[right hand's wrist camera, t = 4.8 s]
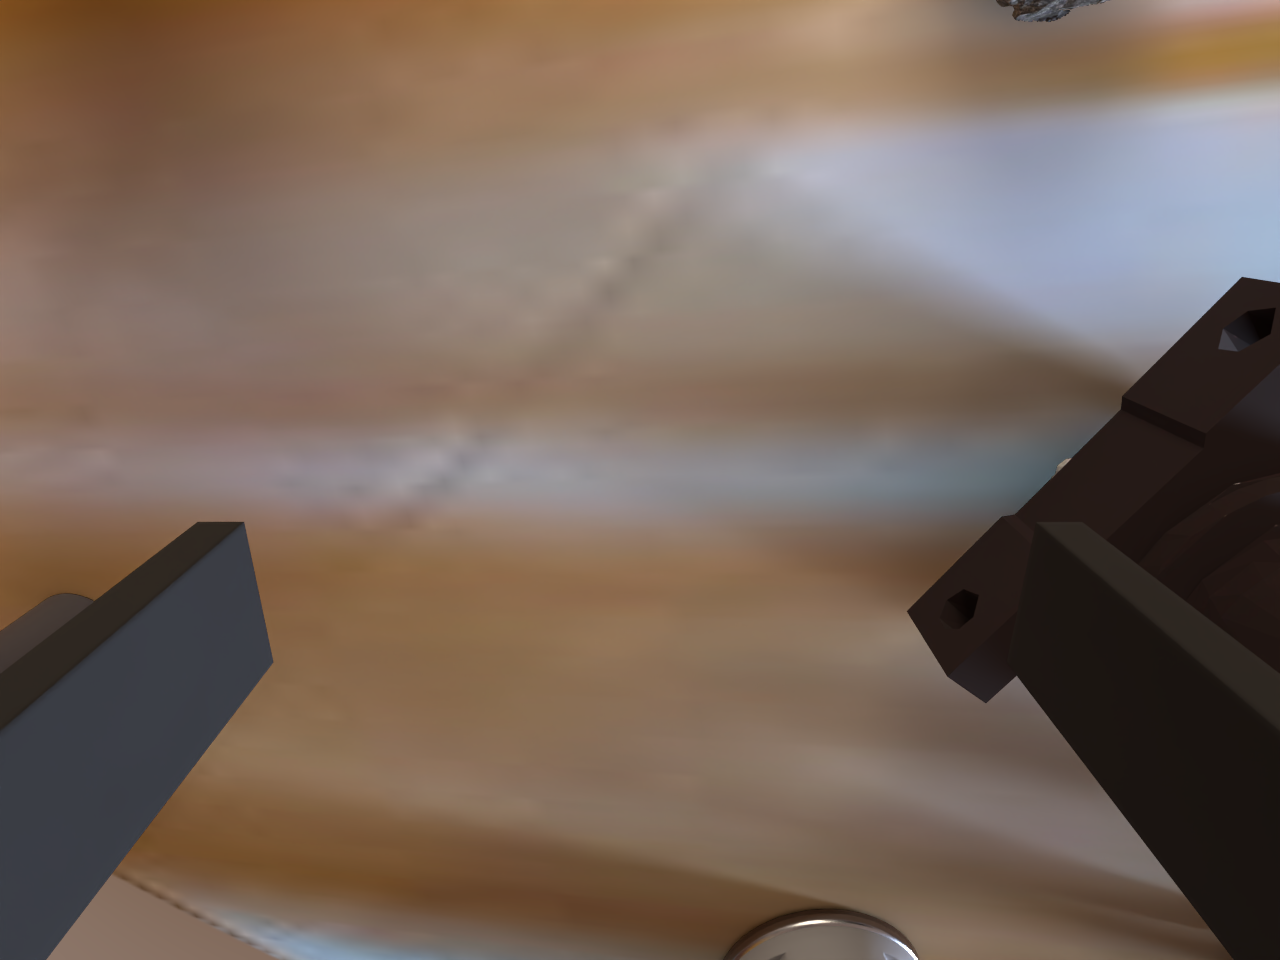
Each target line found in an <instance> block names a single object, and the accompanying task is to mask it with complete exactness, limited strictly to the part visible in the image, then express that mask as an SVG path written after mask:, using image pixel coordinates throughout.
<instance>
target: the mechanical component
mask: <svg viewBox="0 0 1280 960" xmlns="http://www.w3.org/2000/svg"><path fill="white" fill-rule="evenodd" d="M1036 522H1083V523H1084V524H1086V525H1087V526H1088V527H1089V528H1091V529H1092V530H1093V531H1095V532H1096V533H1097V534H1099V535H1100V536H1101V537H1102V538H1104V539H1105V540H1106V541H1108V542H1109V543H1110V544H1112V545H1113V546H1114V547H1115V548H1117V549H1118V550H1119V551H1121V552H1122V553H1123V554H1125V555H1126V556H1127V557H1128V558H1130V559H1131V560H1132V561H1134V562H1135V563H1136V564H1138V565H1139V566H1140V567H1142V568H1143V569H1144V570H1145V571H1147V572H1148V573H1149V574H1151V575H1152V576H1153V577H1155V578H1156V579H1157V580H1158V581H1160V582H1161V583H1162V584H1164V585H1165V586H1166V587H1168V588H1169V589H1170V590H1171V591H1173V592H1174V593H1175V594H1177V595H1178V596H1179V597H1181V598H1182V599H1183V600H1184V601H1186V602H1187V603H1188V604H1190V605H1191V606H1192V607H1194V608H1195V609H1196V610H1198V611H1199V612H1200V613H1201V614H1203V615H1204V616H1205V617H1207V618H1208V619H1209V620H1211V621H1212V622H1213V623H1214V624H1216V625H1217V626H1218V627H1220V628H1221V629H1222V630H1224V631H1225V632H1226V633H1227V634H1229V635H1230V636H1231V637H1233V638H1234V639H1235V640H1237V641H1238V642H1239V643H1240V644H1242V645H1243V646H1244V647H1246V648H1247V649H1248V650H1250V651H1251V652H1252V653H1254V654H1255V655H1256V656H1257V657H1259V658H1260V659H1261V660H1263V661H1264V662H1265V663H1267V664H1268V665H1269V666H1270V667H1272V668H1273V669H1274V670H1276V671H1277V672H1278V673H1280V283H1277V282H1271V281H1264V280H1258V279H1252V278H1245V277H1241V278H1240V279H1239V280H1238V281H1237V282H1236V283H1235V284H1234V285H1233V286H1232V287H1231V288H1230V289H1229V290H1228V291H1227V292H1226V293H1225V294H1224V295H1223V296H1222V297H1221V298H1220V299H1219V300H1218V301H1217V302H1216V303H1215V304H1214V305H1213V306H1212V307H1211V308H1210V309H1209V310H1208V311H1207V312H1206V313H1205V314H1204V315H1203V316H1202V317H1201V318H1200V319H1199V320H1198V321H1197V322H1196V323H1195V324H1194V325H1193V326H1192V327H1191V328H1190V329H1189V330H1188V331H1187V332H1186V333H1185V334H1184V335H1183V336H1182V337H1181V338H1180V339H1179V340H1178V341H1177V342H1176V343H1175V344H1174V345H1173V346H1172V347H1171V348H1170V349H1169V350H1168V351H1167V352H1166V353H1165V354H1164V355H1163V356H1162V357H1161V358H1160V359H1159V360H1158V361H1157V362H1156V363H1155V364H1154V365H1153V366H1152V367H1151V368H1150V369H1149V370H1148V371H1147V372H1146V373H1145V374H1144V375H1143V376H1142V377H1141V378H1140V379H1139V380H1138V381H1137V382H1136V383H1135V384H1134V385H1133V386H1132V387H1131V388H1130V389H1129V390H1128V391H1127V392H1126V393H1125V394H1124V395H1123V396H1122V404H1121V410H1120V411H1119V412H1118V413H1117V414H1116V415H1115V416H1114V417H1113V418H1112V419H1111V420H1110V421H1109V422H1108V423H1107V424H1106V425H1105V426H1104V427H1103V428H1102V429H1101V430H1100V431H1099V432H1098V433H1097V434H1096V435H1095V436H1094V437H1093V438H1092V439H1091V440H1090V441H1089V442H1088V443H1087V444H1086V445H1085V446H1084V447H1083V448H1082V449H1081V450H1080V451H1079V452H1078V453H1077V454H1076V455H1075V456H1074V457H1073V458H1070V459H1065V460H1064V461H1063V462H1061V463H1060V464H1059V465H1058V466H1057V469H1056V473H1055V475H1054V476H1052V478H1051V479H1050V480H1049V481H1048V482H1047V483H1046V484H1045V485H1044V486H1043V487H1042V488H1041V489H1040V490H1039V491H1038V492H1037V493H1036V494H1035V495H1034V496H1033V497H1032V498H1031V499H1030V500H1029V501H1028V502H1027V503H1026V504H1025V505H1024V506H1023V507H1022V508H1021V509H1020V510H1019V511H1018V512H1017V513H1016V514H1015V515H1010V516H1002V517H1001V518H1000V519H999V520H998V521H997V522H996V523H995V524H994V525H993V526H992V527H991V528H990V529H989V530H988V531H987V532H986V533H985V534H984V535H983V536H982V537H981V538H980V539H979V540H978V541H977V542H976V543H975V544H974V545H973V546H972V547H971V548H970V549H969V550H968V551H967V552H966V553H965V554H964V555H963V556H962V557H961V558H960V559H959V560H958V561H957V562H956V563H955V564H954V565H953V566H952V567H951V568H950V569H949V570H948V571H947V572H946V573H945V574H944V575H943V576H942V577H941V578H940V579H939V580H938V581H937V582H936V583H935V584H934V585H933V586H932V587H931V588H930V589H929V590H928V591H927V592H926V593H925V594H924V595H923V596H922V597H921V598H920V599H919V600H918V601H917V602H916V603H915V604H914V605H913V606H912V607H911V608H910V609H909V610H908V611H907V612H908V614H909V616H910V617H911V619H912V620H913V622H914V624H915V625H916V627H917V628H918V630H919V632H920V633H921V635H922V636H923V638H924V640H925V641H926V643H927V644H928V646H929V648H930V649H931V651H932V653H933V654H934V656H935V657H936V659H937V661H938V662H939V664H940V665H941V667H942V669H943V670H944V672H945V673H946V675H947V677H949V678H950V679H952V680H953V681H955V682H956V683H957V684H959V685H960V686H962V687H963V688H965V689H966V690H967V691H969V692H970V693H972V694H973V695H975V696H976V697H978V698H979V699H980V700H982V701H983V702H985V703H987V702H988V701H989V700H990V699H991V698H992V697H993V696H995V695H996V694H997V693H998V692H999V691H1000V690H1001V689H1002V688H1003V687H1005V686H1006V685H1007V684H1008V683H1009V682H1010V681H1011V680H1012V679H1013V678H1014V677H1016V676H1017V675H1016V674H1015V673H1014V671H1013V670H1012V669H1011V667H1010V666H1009V665H1008V663H1007V658H1008V653H1009V648H1010V644H1011V639H1012V634H1013V629H1014V625H1015V620H1016V615H1017V610H1018V606H1019V601H1020V596H1021V591H1022V586H1023V582H1024V577H1025V572H1026V567H1027V563H1028V558H1029V553H1030V548H1031V543H1032V539H1033V534H1034V529H1035V524H1036Z"/></svg>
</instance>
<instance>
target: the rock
mask: <svg viewBox="0 0 1280 960" xmlns="http://www.w3.org/2000/svg"><path fill="white" fill-rule="evenodd" d="M996 1H997V3H998V4H999V5H1000V6H1002V7H1006V6H1013V7H1014V9H1015V11H1014V12H1013V15H1012V16H1013V17H1014V19H1015V20H1018V21H1020V20H1022V21H1023V20H1024V21H1029V22H1032V21H1033V20H1036V21H1037V22H1038V21H1040V22H1041V21H1046V22H1047V21H1048V22H1051V21H1055V20H1058V18H1059V19H1061V17H1063V16H1066V14H1068V13H1069V12H1071V11H1070V10H1065V11H1063V10H1059V9H1073V8H1076V7H1078V6H1085V5H1087V6H1089V4H1098V3H1104V2H1105V1H1108V0H996ZM1057 10H1058V11H1057Z"/></svg>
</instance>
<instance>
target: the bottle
mask: <svg viewBox="0 0 1280 960" xmlns="http://www.w3.org/2000/svg"><path fill="white" fill-rule="evenodd" d="M93 602H94V601H92V600H90V599H88V598H86V597H83V596H80V595H75V594H58V595H54V596H51V597H49V598H47V599H45V600H44V601H43V602H41V603H40V604H38V605H37V606H35V607H34V608H33V609H31V610H30V611H28V612H27V613H25V614H24V615H23V616H21V617H20V618H18V619H17V620H16V621H14V622H13V623H11V624H10V625H8V626H7V627H6V628H4V629H3V630H1V631H0V673H2V672H3V671H4V670H6V669H7V668H8V667H10V666H11V665H12V664H13V663H15V662H16V661H17V660H19V659H20V658H21V657H23V656H24V655H25V654H26V653H28V652H29V651H30V650H32V649H33V648H34V647H36V646H37V645H38V644H40V643H41V642H42V641H43V640H45V639H46V638H47V637H49V636H50V635H51V634H53V633H54V632H55V631H56V630H58V629H59V628H60V627H62V626H63V625H64V624H66V623H67V622H68V621H69V620H71V619H72V618H73V617H75V616H76V615H77V614H79V613H80V612H81V611H82V610H84V609H85V608H86V607H88V606H89V605H90V604H92V603H93Z"/></svg>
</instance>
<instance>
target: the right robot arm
mask: <svg viewBox="0 0 1280 960" xmlns="http://www.w3.org/2000/svg"><path fill="white" fill-rule="evenodd" d="M272 663H273V658H272V653H271V648H270V644H269V639H268V634H267V629H266V625H265V620H264V615H263V610H262V606H261V601H260V596H259V591H258V586H257V582H256V577H255V572H254V567H253V563H252V558H251V553H250V548H249V543H248V539H247V534H246V529H245V524H244V522H197V523H196V524H194V525H193V526H192V527H191V528H189V529H188V530H187V531H185V532H184V533H183V534H181V535H180V536H179V537H178V538H176V539H175V540H174V541H172V542H171V543H170V544H168V545H167V546H166V547H165V548H163V549H162V550H161V551H159V552H158V553H157V554H155V555H154V556H153V557H152V558H150V559H149V560H148V561H146V562H145V563H144V564H142V565H141V566H140V567H138V568H137V569H136V570H135V571H133V572H132V573H131V574H129V575H128V576H127V577H125V578H124V579H123V580H122V581H120V582H119V583H118V584H116V585H115V586H114V587H112V588H111V589H110V590H109V591H107V592H106V593H105V594H103V595H102V596H101V597H99V598H98V599H97V600H96V601H94V602H93V603H92V604H90V605H89V606H88V607H86V608H85V609H84V610H82V611H81V612H80V613H79V614H77V615H76V616H75V617H73V618H72V619H71V620H69V621H68V622H67V623H66V624H64V625H63V626H62V627H60V628H59V629H58V630H56V631H55V632H54V633H53V634H51V635H50V636H49V637H47V638H46V639H45V640H43V641H42V642H41V643H40V644H38V645H37V646H36V647H34V648H33V649H32V650H30V651H29V652H28V653H26V654H25V655H24V656H23V657H21V658H20V659H19V660H17V661H16V662H15V663H13V664H12V665H11V666H10V667H8V668H7V669H6V670H4V671H3V672H2V673H0V960H46V959H47V958H48V956H49V955H50V954H51V953H52V951H53V950H54V949H55V947H56V946H57V945H58V943H59V942H60V941H61V939H62V938H63V937H64V936H65V934H66V933H67V932H68V930H69V929H70V928H71V926H72V925H73V924H74V923H75V921H76V920H77V919H78V917H79V916H80V915H81V913H82V912H83V911H84V909H85V908H86V907H87V906H88V904H89V903H90V902H91V900H92V899H93V898H94V896H95V895H96V894H97V892H98V891H99V890H100V888H101V887H102V886H103V885H104V883H105V882H106V881H107V879H108V878H109V877H110V875H111V874H112V873H113V871H114V870H115V869H116V868H117V866H118V865H119V864H120V862H121V861H122V860H123V858H124V857H125V856H126V854H127V853H128V852H129V851H130V849H131V848H132V847H133V845H134V844H135V843H136V841H137V840H138V839H139V837H140V836H141V835H142V834H143V832H144V831H145V830H146V828H147V827H148V826H149V824H150V823H151V822H152V820H153V819H154V818H155V817H156V815H157V814H158V813H159V811H160V810H161V809H162V807H163V806H164V805H165V803H166V802H167V801H168V799H169V798H170V797H171V796H172V794H173V793H174V792H175V790H176V789H177V788H178V786H179V785H180V784H181V782H182V781H183V780H184V779H185V777H186V776H187V775H188V773H189V772H190V771H191V769H192V768H193V767H194V765H195V764H196V763H197V762H198V760H199V759H200V758H201V756H202V755H203V754H204V752H205V751H206V750H207V748H208V747H209V746H210V745H211V743H212V742H213V741H214V739H215V738H216V737H217V735H218V734H219V733H220V731H221V730H222V729H223V728H224V726H225V725H226V724H227V722H228V721H229V720H230V718H231V717H232V716H233V714H234V713H235V712H236V710H237V709H238V708H239V707H240V705H241V704H242V703H243V701H244V700H245V699H246V697H247V696H248V695H249V693H250V692H251V691H252V690H253V688H254V687H255V686H256V684H257V683H258V682H259V680H260V679H261V678H262V676H263V675H264V674H265V673H266V671H267V670H268V669H269V667H270V666H271V665H272ZM1007 663H1008V665H1009V666H1010V667H1011V669H1012V670H1013V671H1014V673H1015V674H1016V675H1017V676H1018V678H1019V679H1020V680H1021V682H1022V683H1023V684H1024V686H1025V687H1026V688H1027V690H1028V691H1029V692H1030V693H1031V695H1032V696H1033V697H1034V699H1035V700H1036V701H1037V703H1038V704H1039V705H1040V707H1041V708H1042V709H1043V710H1044V712H1045V713H1046V714H1047V716H1048V717H1049V718H1050V720H1051V721H1052V722H1053V724H1054V725H1055V726H1056V728H1057V729H1058V730H1059V731H1060V733H1061V734H1062V735H1063V737H1064V738H1065V739H1066V741H1067V742H1068V743H1069V745H1070V746H1071V747H1072V748H1073V750H1074V751H1075V752H1076V754H1077V755H1078V756H1079V758H1080V759H1081V760H1082V762H1083V763H1084V764H1085V765H1086V767H1087V768H1088V769H1089V771H1090V772H1091V773H1092V775H1093V776H1094V777H1095V779H1096V780H1097V781H1098V782H1099V784H1100V785H1101V786H1102V788H1103V789H1104V790H1105V792H1106V793H1107V794H1108V796H1109V797H1110V798H1111V799H1112V801H1113V802H1114V803H1115V805H1116V806H1117V807H1118V809H1119V810H1120V811H1121V813H1122V814H1123V815H1124V817H1125V818H1126V819H1127V820H1128V822H1129V823H1130V824H1131V826H1132V827H1133V828H1134V830H1135V831H1136V832H1137V834H1138V835H1139V836H1140V837H1141V839H1142V840H1143V841H1144V843H1145V844H1146V845H1147V847H1148V848H1149V849H1150V851H1151V852H1152V853H1153V854H1154V856H1155V857H1156V858H1157V860H1158V861H1159V862H1160V864H1161V865H1162V866H1163V868H1164V869H1165V870H1166V871H1167V873H1168V874H1169V875H1170V877H1171V878H1172V879H1173V881H1174V882H1175V883H1176V885H1177V886H1178V887H1179V888H1180V890H1181V891H1182V892H1183V894H1184V895H1185V896H1186V898H1187V899H1188V900H1189V902H1190V903H1191V904H1192V906H1193V907H1194V908H1195V909H1196V911H1197V912H1198V913H1199V915H1200V916H1201V917H1202V919H1203V920H1204V921H1205V923H1206V924H1207V925H1208V926H1209V928H1210V929H1211V930H1212V932H1213V933H1214V934H1215V936H1216V937H1217V938H1218V940H1219V941H1220V942H1221V943H1222V945H1223V946H1224V947H1225V949H1226V950H1227V951H1228V953H1229V954H1230V955H1231V957H1232V958H1233V959H1234V960H1280V673H1278V672H1277V671H1276V670H1274V669H1273V668H1272V667H1270V666H1269V665H1268V664H1267V663H1265V662H1264V661H1263V660H1261V659H1260V658H1259V657H1257V656H1256V655H1255V654H1254V653H1252V652H1251V651H1250V650H1248V649H1247V648H1246V647H1244V646H1243V645H1242V644H1240V643H1239V642H1238V641H1237V640H1235V639H1234V638H1233V637H1231V636H1230V635H1229V634H1227V633H1226V632H1225V631H1224V630H1222V629H1221V628H1220V627H1218V626H1217V625H1216V624H1214V623H1213V622H1212V621H1211V620H1209V619H1208V618H1207V617H1205V616H1204V615H1203V614H1201V613H1200V612H1199V611H1198V610H1196V609H1195V608H1194V607H1192V606H1191V605H1190V604H1188V603H1187V602H1186V601H1184V600H1183V599H1182V598H1181V597H1179V596H1178V595H1177V594H1175V593H1174V592H1173V591H1171V590H1170V589H1169V588H1168V587H1166V586H1165V585H1164V584H1162V583H1161V582H1160V581H1158V580H1157V579H1156V578H1155V577H1153V576H1152V575H1151V574H1149V573H1148V572H1147V571H1145V570H1144V569H1143V568H1142V567H1140V566H1139V565H1138V564H1136V563H1135V562H1134V561H1132V560H1131V559H1130V558H1128V557H1127V556H1126V555H1125V554H1123V553H1122V552H1121V551H1119V550H1118V549H1117V548H1115V547H1114V546H1113V545H1112V544H1110V543H1109V542H1108V541H1106V540H1105V539H1104V538H1102V537H1101V536H1100V535H1099V534H1097V533H1096V532H1095V531H1093V530H1092V529H1091V528H1089V527H1088V526H1087V525H1086V524H1084V523H1083V522H1036V524H1035V529H1034V534H1033V539H1032V543H1031V548H1030V553H1029V558H1028V563H1027V567H1026V572H1025V577H1024V582H1023V586H1022V591H1021V596H1020V601H1019V606H1018V610H1017V615H1016V620H1015V625H1014V629H1013V634H1012V639H1011V644H1010V648H1009V653H1008V658H1007ZM724 960H919V957H918V955H917V953H916V951H915V949H914V947H913V946H912V944H911V943H910V942H909V940H908V939H907V938H906V937H905V936H904V935H903V934H902V933H901V932H900V931H898V930H897V929H895V928H894V927H893V926H891V925H889V924H888V923H886V922H884V921H882V920H880V919H877V918H875V917H872V916H869V915H866V914H862V913H859V912H853V911H848V910H838V909H817V910H807V911H801V912H796V913H792V914H788V915H785V916H781V917H778V918H776V919H773V920H771V921H768V922H766V923H764V924H762V925H760V926H758V927H757V928H755V929H753V930H752V931H750V932H749V933H747V934H746V935H745V936H743V937H742V938H741V939H740V940H739V941H738V942H737V943H736V944H735V945H734V946H733V947H732V948H731V949H730V951H729V952H728V953H727V955H726V956H725V958H724Z"/></svg>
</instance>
